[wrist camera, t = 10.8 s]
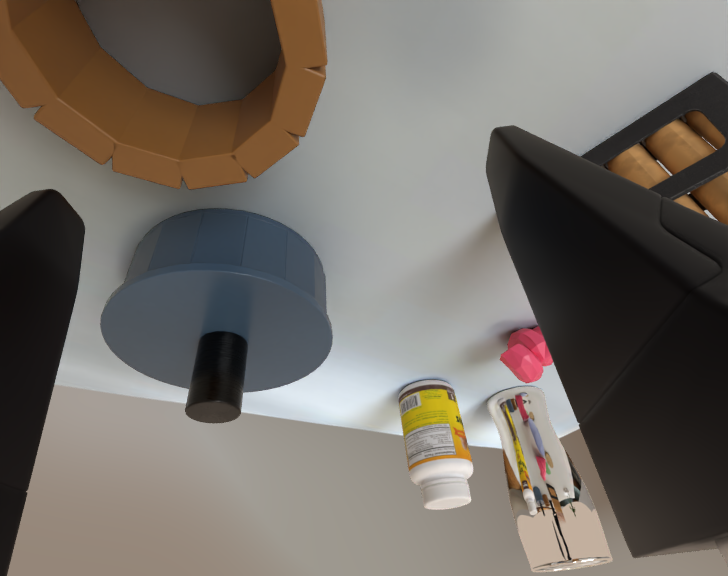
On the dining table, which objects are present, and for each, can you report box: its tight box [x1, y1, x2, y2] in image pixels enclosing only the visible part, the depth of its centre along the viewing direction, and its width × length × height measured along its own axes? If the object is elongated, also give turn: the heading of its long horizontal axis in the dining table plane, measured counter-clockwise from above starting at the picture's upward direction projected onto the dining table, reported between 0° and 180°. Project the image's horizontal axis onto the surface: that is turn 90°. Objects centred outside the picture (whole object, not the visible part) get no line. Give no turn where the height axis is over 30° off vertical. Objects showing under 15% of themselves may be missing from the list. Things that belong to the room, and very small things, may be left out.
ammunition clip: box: [581, 72, 728, 225], centre depth 18 cm, size 11×2×12 cm, turn 133°
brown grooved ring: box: [0, 0, 327, 190], centre depth 13 cm, size 10×10×4 cm
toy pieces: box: [500, 326, 553, 383], centre depth 32 cm, size 12×11×4 cm
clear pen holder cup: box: [486, 386, 613, 572], centre depth 39 cm, size 7×7×15 cm
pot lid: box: [100, 263, 333, 423], centre depth 22 cm, size 12×12×5 cm
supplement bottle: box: [398, 380, 473, 510], centre depth 37 cm, size 6×6×10 cm
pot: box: [124, 209, 327, 314], centre depth 25 cm, size 11×11×4 cm
